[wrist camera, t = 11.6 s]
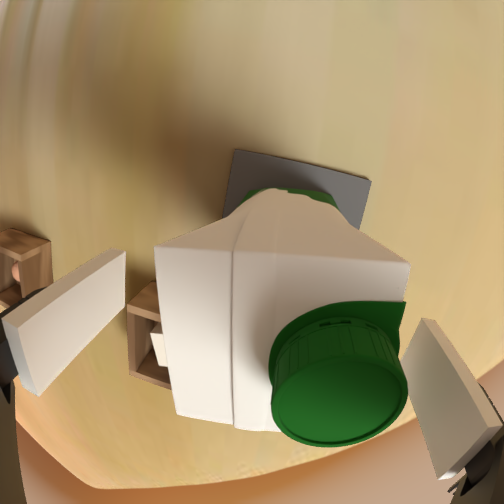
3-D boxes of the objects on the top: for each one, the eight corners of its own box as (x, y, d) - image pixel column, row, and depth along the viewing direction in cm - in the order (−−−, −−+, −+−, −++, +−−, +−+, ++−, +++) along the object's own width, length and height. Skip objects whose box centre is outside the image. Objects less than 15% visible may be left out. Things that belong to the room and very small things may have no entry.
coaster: (213, 274, 29) (212, 276, 29) (236, 149, 25) (234, 148, 25) (334, 302, 29) (335, 305, 28) (370, 180, 25) (371, 181, 24)
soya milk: (333, 281, 27) (374, 478, 8) (236, 274, 28) (145, 454, 10) (343, 185, 25) (465, 268, 6) (237, 179, 26) (90, 242, 7)
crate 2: (149, 347, 34) (129, 374, 28) (151, 280, 31) (126, 303, 25) (221, 369, 33) (210, 401, 28) (234, 302, 30) (222, 332, 25)
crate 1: (16, 285, 35) (-8, 299, 30) (11, 227, 32) (-17, 238, 27) (55, 303, 34) (30, 322, 29) (50, 241, 31) (20, 255, 26)
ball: (23, 273, 33) (9, 281, 30) (21, 254, 32) (6, 261, 29) (36, 279, 33) (22, 288, 30) (34, 259, 32) (19, 267, 29)
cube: (172, 344, 32) (158, 365, 28) (165, 313, 31) (150, 333, 27) (206, 347, 32) (195, 369, 28) (200, 315, 30) (188, 336, 27)
